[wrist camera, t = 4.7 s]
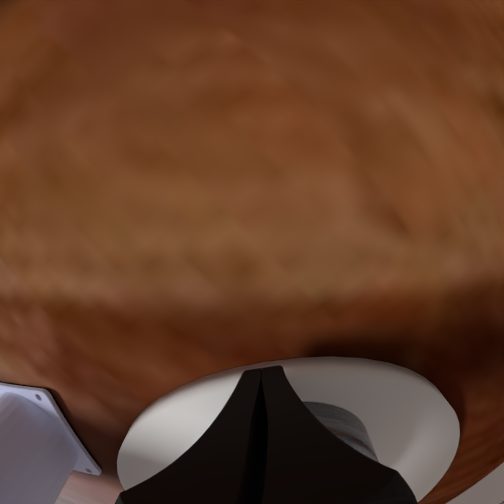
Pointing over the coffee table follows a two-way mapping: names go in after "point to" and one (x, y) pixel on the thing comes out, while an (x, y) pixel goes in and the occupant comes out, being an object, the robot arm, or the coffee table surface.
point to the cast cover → (343, 426)
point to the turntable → (315, 390)
